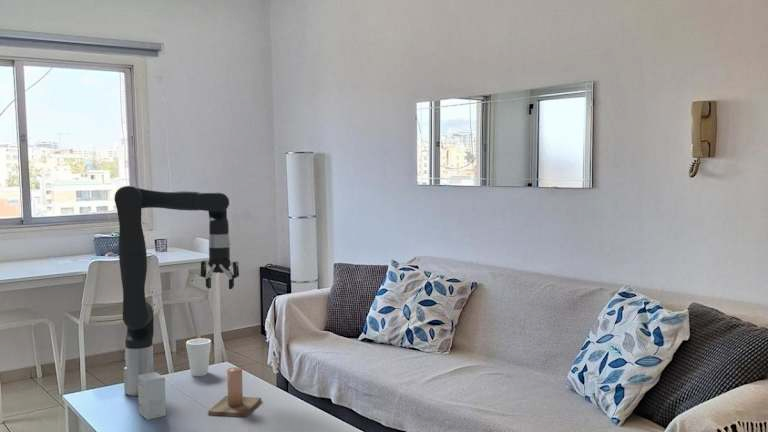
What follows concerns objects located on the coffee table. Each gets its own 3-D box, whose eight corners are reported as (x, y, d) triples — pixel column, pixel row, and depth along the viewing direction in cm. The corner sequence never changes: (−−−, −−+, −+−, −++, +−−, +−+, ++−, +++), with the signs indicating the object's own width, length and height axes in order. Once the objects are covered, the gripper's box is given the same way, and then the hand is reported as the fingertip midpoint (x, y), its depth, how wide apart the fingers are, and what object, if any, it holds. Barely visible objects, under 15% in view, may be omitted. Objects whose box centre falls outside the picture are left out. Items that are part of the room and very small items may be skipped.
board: (208, 414, 221) (208, 411, 221) (225, 399, 236) (225, 395, 236) (246, 416, 219) (246, 413, 219) (261, 401, 234) (261, 397, 234)
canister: (225, 406, 226) (224, 371, 225) (230, 401, 231) (230, 367, 230) (239, 407, 225) (239, 372, 224) (244, 401, 230) (244, 367, 229)
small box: (166, 415, 220) (165, 377, 219) (147, 420, 216) (146, 381, 215) (157, 409, 227) (156, 371, 226) (138, 413, 223) (137, 375, 222)
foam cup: (207, 377, 261) (207, 344, 260) (183, 377, 261) (183, 344, 260) (214, 370, 270) (213, 338, 269) (191, 369, 270) (190, 338, 269)
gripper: (197, 246, 248) (197, 289, 249) (233, 247, 246) (234, 290, 247) (205, 244, 255) (206, 286, 257) (241, 245, 253) (241, 287, 255)
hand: (220, 288), depth 252 cm, fingers open, 8 cm apart
